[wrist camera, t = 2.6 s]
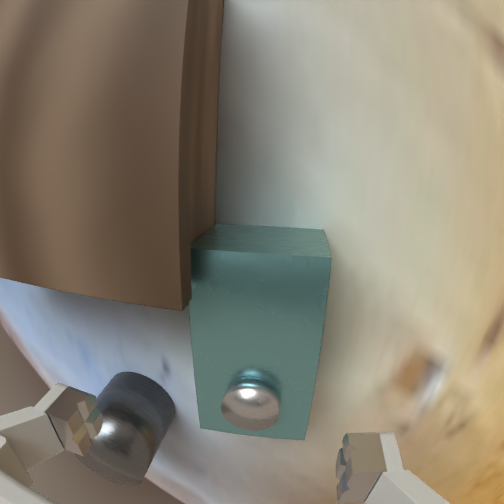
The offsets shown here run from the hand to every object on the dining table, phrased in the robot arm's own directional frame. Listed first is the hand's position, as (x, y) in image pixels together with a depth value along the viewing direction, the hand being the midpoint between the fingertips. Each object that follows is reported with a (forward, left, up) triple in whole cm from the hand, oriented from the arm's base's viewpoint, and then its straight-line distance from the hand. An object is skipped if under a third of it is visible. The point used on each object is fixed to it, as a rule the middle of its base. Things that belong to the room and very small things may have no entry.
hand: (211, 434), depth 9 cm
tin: (+7, +8, -8) cm, 13 cm away
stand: (+8, -10, -8) cm, 15 cm away
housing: (-1, 0, -8) cm, 8 cm away
